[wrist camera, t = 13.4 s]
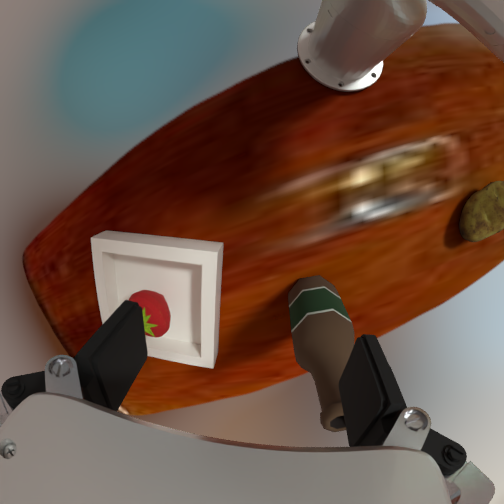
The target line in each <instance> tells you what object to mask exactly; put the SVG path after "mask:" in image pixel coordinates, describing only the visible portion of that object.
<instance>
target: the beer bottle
mask: <svg viewBox="0 0 504 504" xmlns="http://www.w3.org/2000/svg"><path fill="white" fill-rule="evenodd" d="M288 302H289V311H290V322H291V332H292V339H293V346H294V353H295V357H296V361H297V362H298V364H299V365H300V366H301V368H303V369H305V370H307V371H308V372H310V373H311V374H312V376H313V379H314V381H315V385H316V388H317V392H318V397H319V401H320V405H321V409H322V412H321V413H320V420H321V424H322V426H323V428H324V429H326V430H329V431H332V432H338V431H343V430H346V424H345V419H344V413H343V408H342V403H341V397H340V392H339V380H340V378H341V375H342V373H343V371H344V369H345V366H346V364H347V362H348V359H349V357H350V354H351V352H352V350H353V347H354V329H353V326H352V322H351V320H350V318H349V316H348V313H347V311H346V309H345V307H344V305H343V303H342V300H341V298H340V296H339V294H338V292H337V290H336V288H335V287H334V285H332V284H331V283H329V282H328V281H327V280H325V279H324V278H322V277H321V276H320V275H318V276H312V277H306V278H300V279H299V280H298V282H297V283H296V284H295V285H294V287H293V288H292V289H291V290H290V291H289V293H288Z"/></svg>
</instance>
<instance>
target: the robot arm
mask: <svg viewBox="0 0 504 504" xmlns="http://www.w3.org/2000/svg"><path fill="white" fill-rule="evenodd" d="M429 1H430V2H432V3H433V4H435V5H436V6H438V7H440V8H441V9H442V10H444V11H445V12H447V13H448V14H449V15H450V16H452V17H453V18H454V19H455V20H457V21H458V22H459V23H460V24H461V25H463V26H464V27H465V28H466V29H467V30H468V31H470V32H471V33H472V34H473V35H474V36H475V37H476V38H477V39H478V40H479V41H481V42H482V43H483V44H484V45H485V46H486V47H487V48H488V49H489V50H490V51H491V52H492V53H493V54H495V55H496V56H497V57H498V58H499V59H500V60H501V61H503V62H504V0H429ZM426 13H427V3H426V0H322V3H321V6H320V9H319V12H318V16H317V19H316V21H315V22H313V23H311V24H309V25H308V26H307V27H305V29H304V30H303V31H302V33H301V35H300V37H299V40H298V46H297V51H298V57H299V59H300V62H301V64H302V65H303V67H304V69H305V70H306V71H307V72H308V73H309V75H310V76H311V77H313V78H314V79H315V80H316V81H318V82H319V83H321V84H323V85H324V86H327V87H329V88H331V89H334V90H338V91H345V92H354V91H360V90H363V89H366V88H367V87H369V86H371V85H372V84H373V83H375V82H376V81H377V79H378V78H379V76H380V74H381V72H382V68H383V60H384V59H385V58H386V57H387V56H389V55H390V54H391V53H392V52H393V51H394V50H396V49H397V48H398V47H399V46H400V45H401V44H403V43H404V42H405V41H406V40H407V39H409V38H410V37H411V36H412V35H413V34H414V33H416V32H417V31H418V30H419V29H420V28H421V26H422V25H423V23H424V21H425V18H426ZM308 32H310V33H308ZM306 62H308V63H309V64H307V63H306ZM372 76H373V77H372ZM339 84H340V85H341V87H340V86H339ZM147 355H148V351H147V344H146V337H145V329H144V321H143V312H142V307H141V306H139V304H138V303H137V302H133V301H129V300H125V301H124V302H123V303H122V304H121V305H120V306H119V307H118V308H117V309H116V310H115V311H114V312H113V314H112V315H111V316H110V317H109V318H108V319H107V320H106V321H105V322H104V323H103V325H102V326H101V327H100V328H99V329H98V330H97V331H96V332H95V334H94V335H93V336H92V337H91V338H90V339H89V340H88V341H87V343H86V344H85V345H84V346H83V347H82V348H81V350H80V351H79V352H78V353H77V355H76V356H75V357H74V358H72V357H70V356H67V355H58V356H55V357H53V358H51V359H50V360H49V361H48V362H47V363H46V365H45V371H42V372H36V373H31V374H26V375H21V376H15V377H11V378H9V379H8V380H6V382H4V384H3V386H2V390H1V391H0V504H489V502H490V501H491V499H492V498H493V495H494V493H495V487H494V484H493V482H492V481H491V480H490V479H489V478H488V477H487V476H486V475H485V474H483V473H482V472H481V471H480V470H479V469H478V468H477V467H476V466H475V465H474V464H473V463H472V462H471V461H470V462H468V463H467V462H466V457H467V456H466V452H465V450H464V448H463V447H462V446H461V445H460V444H458V443H456V442H454V441H452V440H450V439H449V438H447V437H445V436H443V435H441V434H439V433H438V432H436V431H434V430H432V429H431V428H430V426H431V419H430V417H429V415H428V414H427V413H426V412H425V411H424V410H422V409H420V408H417V407H408V408H407V406H406V404H405V401H404V399H403V396H402V394H401V391H400V389H399V386H398V384H397V381H396V379H395V377H394V374H393V372H392V369H391V367H390V366H389V364H388V362H387V360H386V358H385V355H384V353H383V351H382V348H381V347H380V344H379V342H378V340H377V337H376V336H375V335H365V334H363V335H362V336H361V337H358V338H357V340H356V342H355V345H354V347H353V350H352V352H351V354H350V357H349V359H348V362H347V364H346V366H345V369H344V371H343V373H342V375H341V378H340V380H339V392H340V397H341V403H342V408H343V413H344V419H345V424H346V430H347V435H348V441H349V446H350V447H324V448H323V447H322V448H321V447H316V448H315V447H286V446H272V445H261V444H252V443H244V442H237V441H230V440H224V439H218V438H213V437H207V436H202V435H197V434H192V433H188V432H184V431H180V430H176V429H171V428H168V427H164V426H161V425H157V424H154V423H150V422H147V421H144V420H140V419H137V418H134V417H131V416H128V415H125V414H122V413H119V412H117V410H118V408H119V407H120V405H121V403H122V401H123V399H124V398H125V396H126V394H127V392H128V391H129V389H130V387H131V385H132V383H133V382H134V380H135V378H136V376H137V375H138V373H139V371H140V369H141V368H142V366H143V364H144V363H145V361H146V359H147Z"/></svg>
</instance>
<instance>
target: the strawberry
mask: <svg viewBox="0 0 504 504" xmlns="http://www.w3.org/2000/svg"><path fill="white" fill-rule="evenodd" d="M129 301H133V302H137V303H138V304H139V306H141V307H142V312H143V321H144V329H145V337H146V335H147V336H150V337H155V338H157V337H161V336H163V335H164V334H165V333H166V332H167V331H168V330H169V327H170V319H171V315H170V310H169V307H168V304H167V302H166V300H165V298H164V296H163V295H162V294H159V293H157V292H155V291H150V290H141V291H138V292H136V293H133V294H132V295H131V297H130V298H129Z"/></svg>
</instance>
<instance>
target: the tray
mask: <svg viewBox="0 0 504 504" xmlns="http://www.w3.org/2000/svg"><path fill="white" fill-rule="evenodd" d="M91 246H92V257H93V267H94V275H95V282H96V289H97V296H98V302H99V308H100V313H101V319H102V324H103V323H104V322H105V321H106V320H107V319H108V318H109V317H110V316H111V315H112V314H113V312H114V311H115V310H116V309H117V308H118V307H119V306H120V305H121V304H122V303H123V302H124V301H125V300H129V298H130V297H131V295H132V294H133V293H136V292H138V291H141V290H150V291H155V292H157V293H159V294H162V295H163V296H164V298H165V300H166V302H167V304H168V307H169V310H170V315H171V319H170V327H169V330H168V331H167V332H166V333H165V334H164V335H163V336H161V337H157V338H155V337H150V336H147V335H146V344H147V351H148V355H147V356H151V357H156V358H160V359H165V360H169V361H174V362H179V363H184V364H189V365H195V366H200V367H206V368H214V365H215V361H216V358H217V354H218V340H219V316H220V295H221V276H222V259H223V243H222V242H212V241H203V240H194V239H184V238H175V237H165V236H156V235H146V234H136V233H127V232H117V231H107V230H106V231H104V232H102V233H99V234H97V235H95V236H93V237H91Z"/></svg>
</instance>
